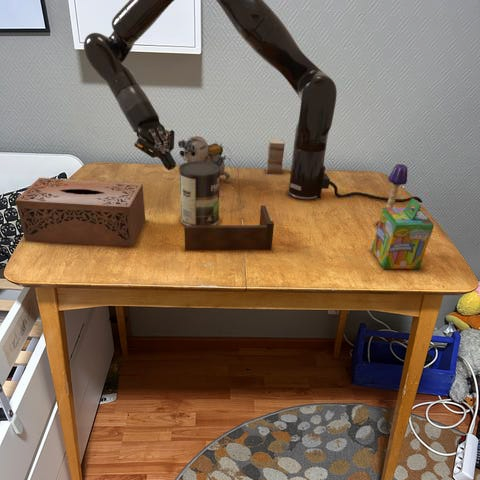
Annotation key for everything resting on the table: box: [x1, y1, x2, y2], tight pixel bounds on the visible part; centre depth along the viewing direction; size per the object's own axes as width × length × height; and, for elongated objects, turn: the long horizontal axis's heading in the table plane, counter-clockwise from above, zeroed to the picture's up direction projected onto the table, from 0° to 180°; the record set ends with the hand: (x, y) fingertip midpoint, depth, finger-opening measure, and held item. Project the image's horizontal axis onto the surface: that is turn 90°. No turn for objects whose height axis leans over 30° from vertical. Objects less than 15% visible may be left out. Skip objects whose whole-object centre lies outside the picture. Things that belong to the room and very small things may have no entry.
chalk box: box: [371, 198, 435, 270], centre depth 107 cm, size 9×9×15 cm
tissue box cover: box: [14, 177, 146, 248], centre depth 114 cm, size 26×14×10 cm, turn 88°
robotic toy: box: [177, 135, 232, 183], centre depth 141 cm, size 13×17×15 cm
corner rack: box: [183, 204, 275, 252], centre depth 115 cm, size 21×13×7 cm, turn 96°
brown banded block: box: [265, 138, 286, 175], centre depth 154 cm, size 5×4×10 cm
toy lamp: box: [376, 163, 408, 228], centre depth 122 cm, size 5×5×17 cm
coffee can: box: [178, 161, 221, 225], centre depth 120 cm, size 10×10×14 cm
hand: (172, 168), depth 122 cm, fingers closed
